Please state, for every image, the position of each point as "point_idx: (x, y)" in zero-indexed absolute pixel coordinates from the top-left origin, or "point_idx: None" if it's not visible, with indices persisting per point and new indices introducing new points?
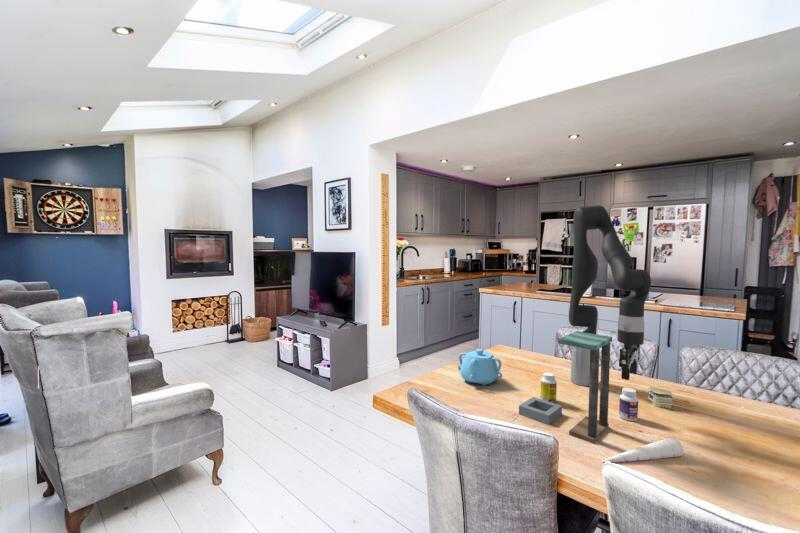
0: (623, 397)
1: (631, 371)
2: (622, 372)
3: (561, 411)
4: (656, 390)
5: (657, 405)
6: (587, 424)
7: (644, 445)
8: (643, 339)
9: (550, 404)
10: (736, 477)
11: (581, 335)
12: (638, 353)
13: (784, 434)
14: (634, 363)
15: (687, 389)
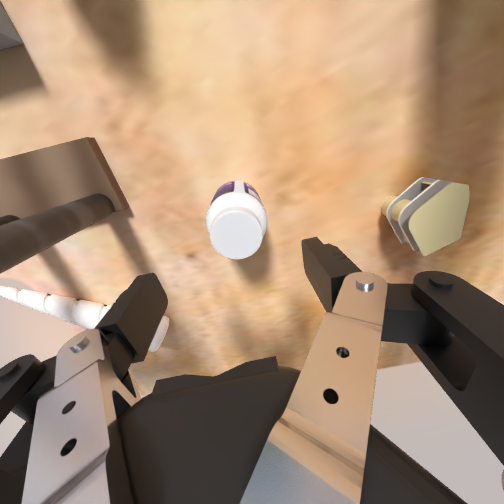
0: (207, 219)
1: (306, 255)
2: (106, 314)
3: (6, 38)
4: (439, 211)
5: (383, 212)
6: (47, 178)
7: (88, 319)
8: None
9: None
10: (185, 373)
11: None
12: (456, 404)
13: (394, 360)
14: (332, 309)
15: None
